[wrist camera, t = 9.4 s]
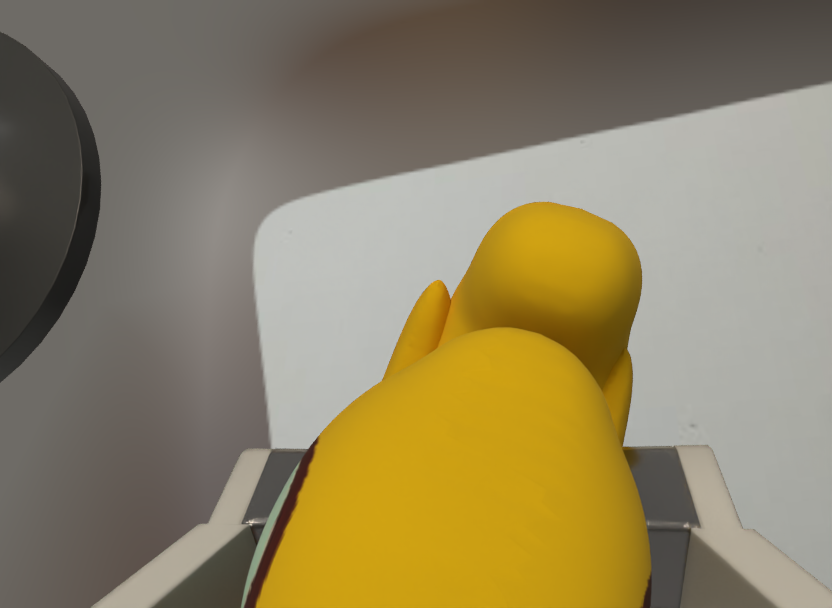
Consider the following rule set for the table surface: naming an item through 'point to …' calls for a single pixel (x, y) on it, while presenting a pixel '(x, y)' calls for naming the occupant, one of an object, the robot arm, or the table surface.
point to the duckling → (482, 444)
